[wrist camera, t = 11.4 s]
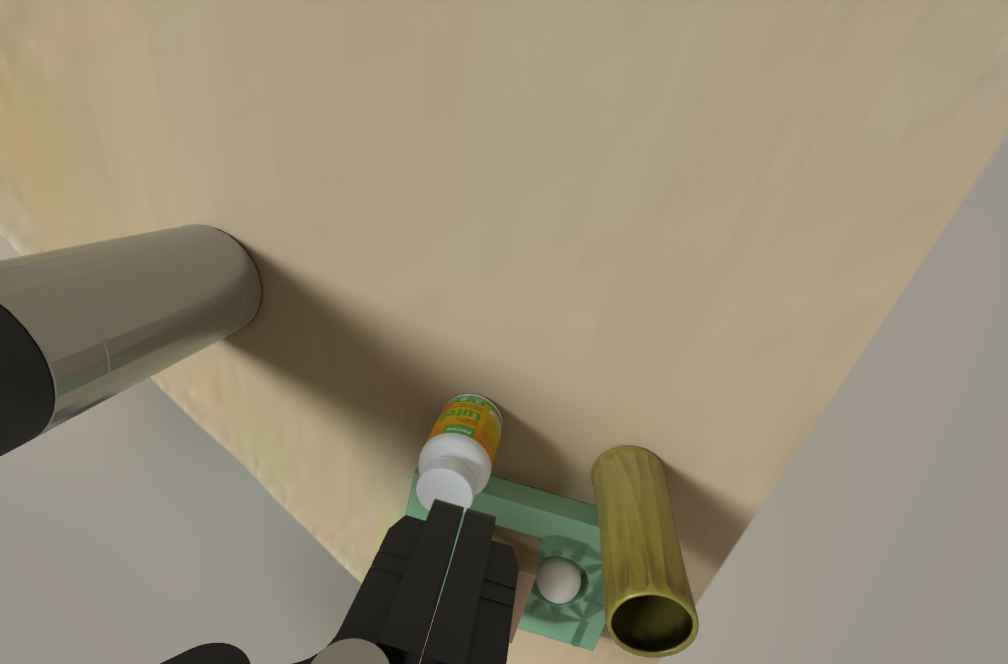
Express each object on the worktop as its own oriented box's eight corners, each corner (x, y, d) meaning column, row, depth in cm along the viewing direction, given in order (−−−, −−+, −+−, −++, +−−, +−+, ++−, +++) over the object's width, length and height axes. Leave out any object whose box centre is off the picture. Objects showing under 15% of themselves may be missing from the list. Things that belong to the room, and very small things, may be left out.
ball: (576, 618, 42) (556, 591, 46) (596, 575, 43) (574, 552, 46) (539, 607, 41) (522, 580, 45) (560, 562, 41) (541, 540, 45)
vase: (585, 498, 43) (591, 652, 30) (597, 439, 41) (608, 577, 27) (656, 509, 42) (693, 672, 29) (671, 450, 40) (719, 597, 27)
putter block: (464, 586, 45) (455, 625, 41) (484, 521, 42) (475, 557, 38) (516, 602, 45) (511, 643, 41) (539, 537, 42) (536, 575, 38)
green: (398, 568, 49) (389, 589, 46) (423, 455, 44) (414, 472, 41) (591, 627, 48) (592, 651, 46) (639, 519, 43) (643, 540, 41)
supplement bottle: (492, 385, 40) (468, 453, 31) (511, 440, 42) (494, 519, 33) (432, 399, 42) (393, 467, 33) (453, 452, 43) (421, 531, 34)
